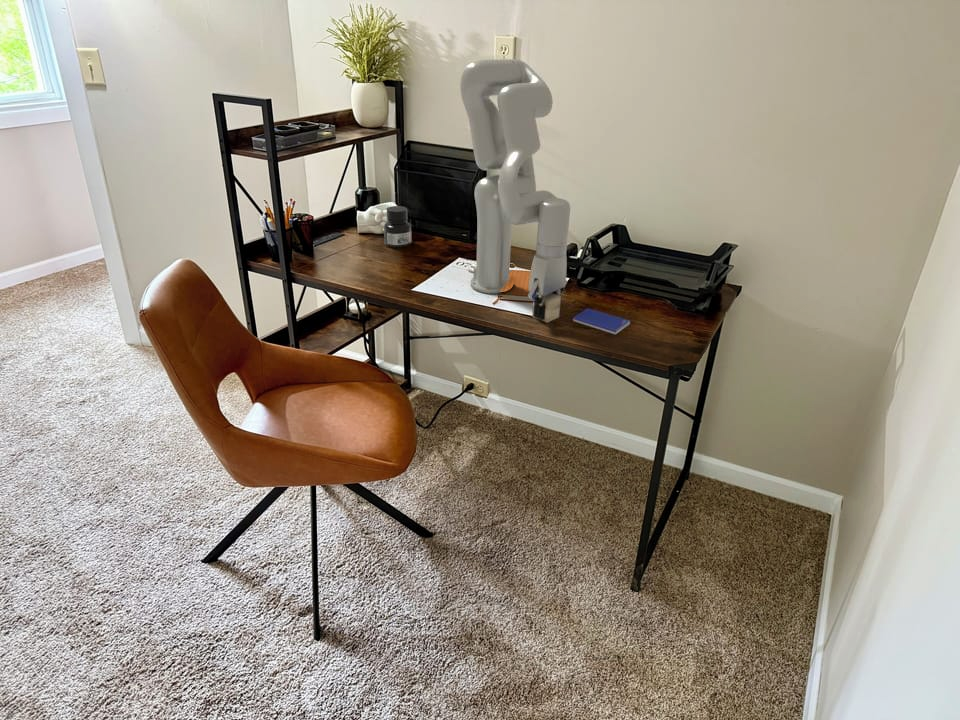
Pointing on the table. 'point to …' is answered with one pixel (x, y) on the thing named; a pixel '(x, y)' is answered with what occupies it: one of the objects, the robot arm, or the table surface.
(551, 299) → the beech block
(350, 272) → the table surface
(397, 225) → the ink bottle
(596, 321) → the hard drive
